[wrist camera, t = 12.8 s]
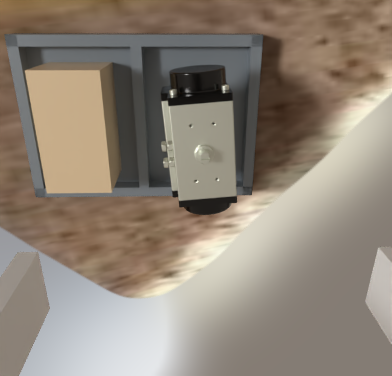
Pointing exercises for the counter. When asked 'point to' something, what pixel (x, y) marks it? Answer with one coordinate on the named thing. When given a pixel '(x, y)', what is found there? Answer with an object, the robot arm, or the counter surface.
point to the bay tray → (120, 106)
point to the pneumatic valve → (200, 138)
